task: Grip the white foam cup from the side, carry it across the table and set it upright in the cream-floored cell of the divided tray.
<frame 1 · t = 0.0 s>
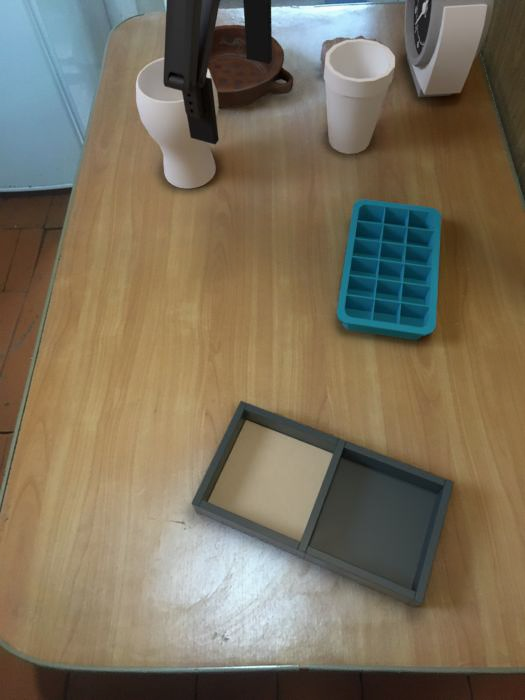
hand: (233, 97, 57), 22 cm above the table, tool pointing down, fingers open, 13 cm apart
ice cube tray: (387, 276, 72), on the table
divided tray: (320, 501, 58), on the table
alarm clock: (428, 77, 92), on the table
foam cup: (349, 140, 85), on the table
cup: (190, 171, 83), on the table
dish: (230, 84, 93), on the table
stone: (349, 76, 93), on the table
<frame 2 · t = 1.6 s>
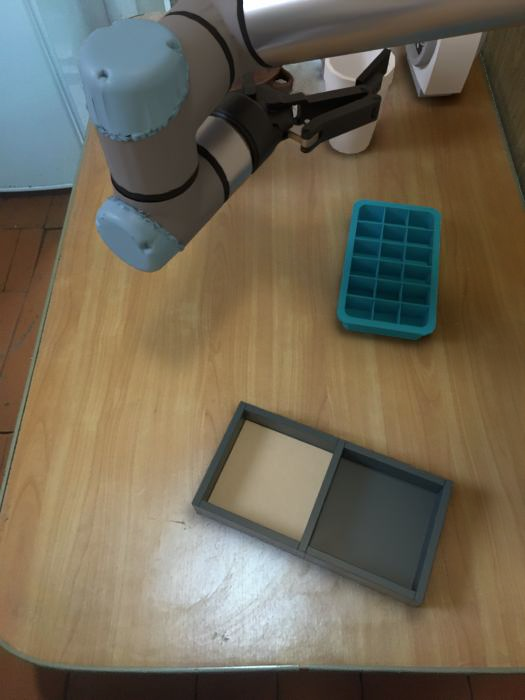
hand: (333, 40, 63), 21 cm above the table, tool horizontal, fingers open, 13 cm apart
nothing on the table moved.
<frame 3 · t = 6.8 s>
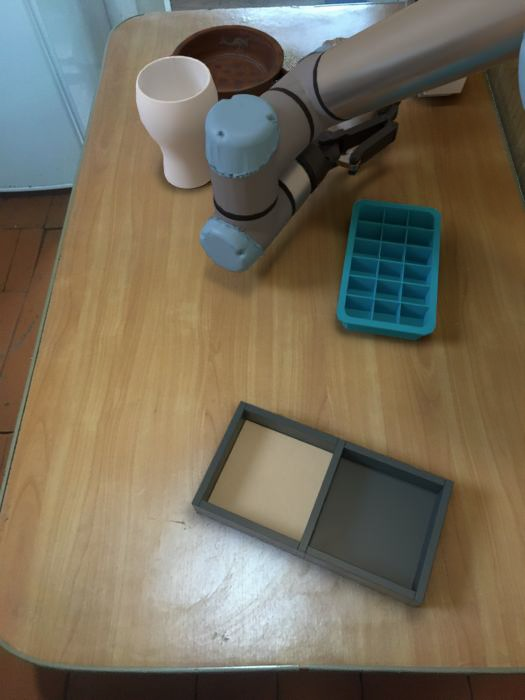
hand: (369, 82, 81), 7 cm above the table, tool horizontal, fingers closed on foam cup, 9 cm apart
foam cup: (349, 140, 85), on the table, touching gripper
everything else where it was.
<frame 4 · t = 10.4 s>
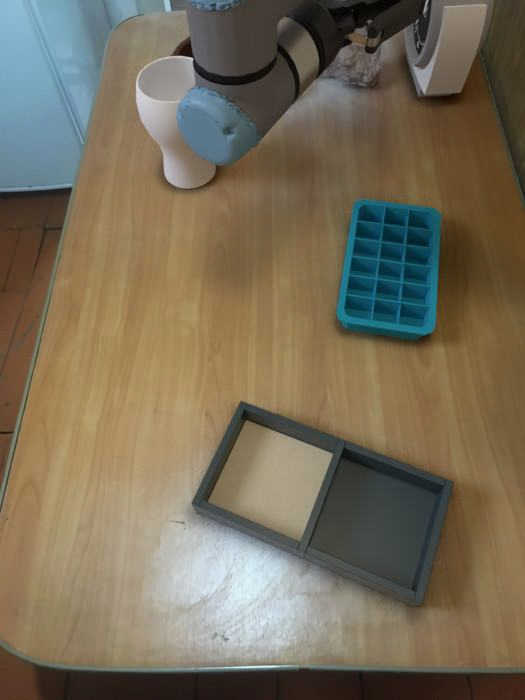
foam cup: (363, 32, 71), point 17 cm above the table, touching gripper
everything else where it was.
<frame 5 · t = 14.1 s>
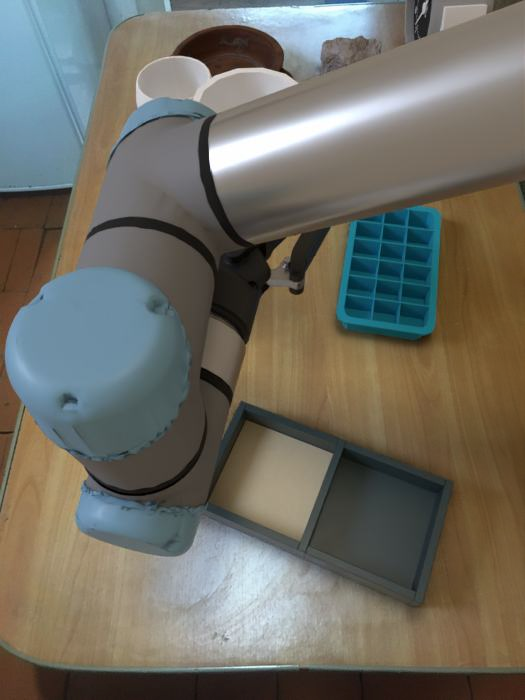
hand: (263, 130, 51), 24 cm above the table, tool horizontal, fingers closed on foam cup, 9 cm apart
foam cup: (255, 219, 55), point 17 cm above the table, touching gripper
everything else where it was.
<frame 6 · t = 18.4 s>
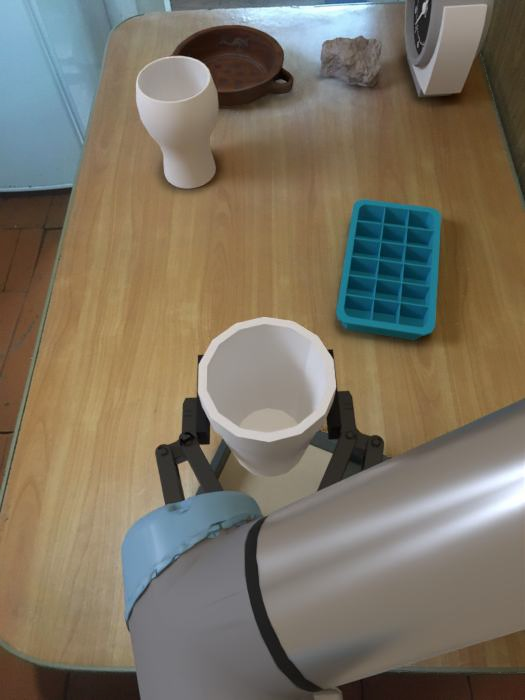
hand: (265, 360, 45), 19 cm above the table, tool horizontal, fingers closed on foam cup, 9 cm apart
foam cup: (269, 443, 49), point 12 cm above the table, touching gripper
everything else where it was.
when the fingers open (8 cm above the table, at t = 21.9 s): foam cup stays where it is, resting on divided tray.
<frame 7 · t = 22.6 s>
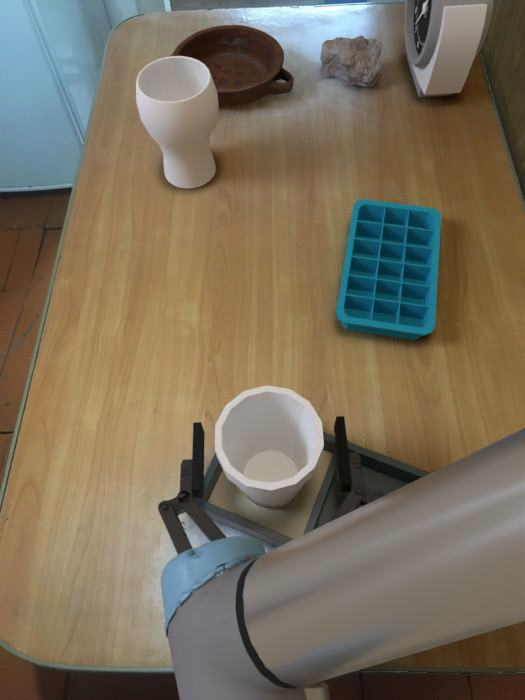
hand: (268, 424, 54), 8 cm above the table, tool horizontal, fingers open, 13 cm apart
foam cup: (270, 479, 59), point 1 cm above the table, touching divided tray
everything else where it was.
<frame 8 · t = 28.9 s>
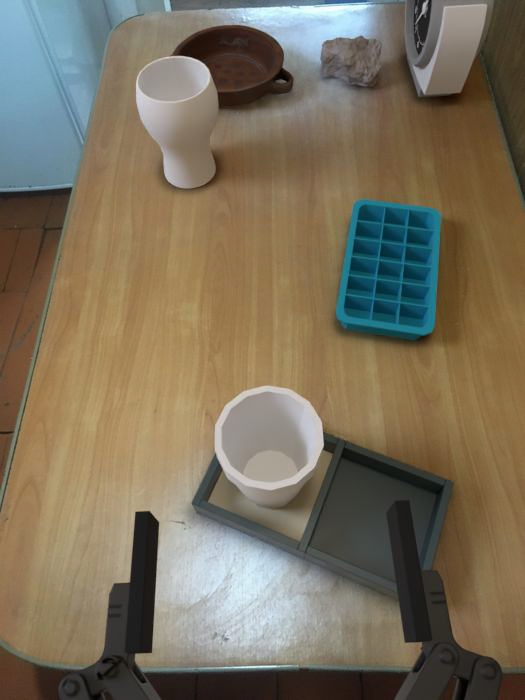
hand: (272, 510, 30), 28 cm above the table, tool horizontal, fingers open, 13 cm apart
nothing on the table moved.
at the end: foam cup inside the target area in the divided tray (0.0 cm from its centre), point 0.6 cm above the divided tray's base; foam cup tilted 0°; the gripper is holding nothing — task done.
